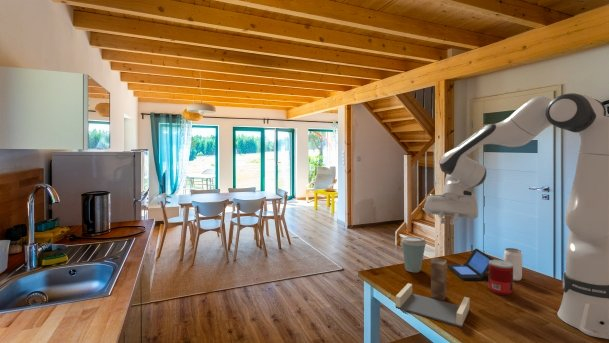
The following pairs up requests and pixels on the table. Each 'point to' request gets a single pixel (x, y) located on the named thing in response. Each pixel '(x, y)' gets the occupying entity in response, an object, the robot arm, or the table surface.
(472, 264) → the handheld game console
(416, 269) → the disposable coffee cup
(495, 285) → the canned food
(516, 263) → the can
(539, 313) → the table surface
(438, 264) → the walnut block
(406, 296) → the rubber mat with end rails
